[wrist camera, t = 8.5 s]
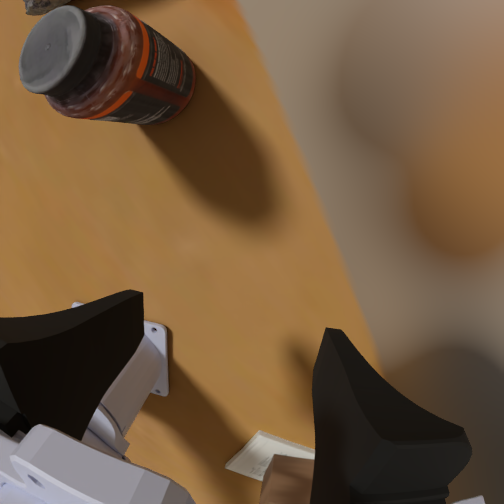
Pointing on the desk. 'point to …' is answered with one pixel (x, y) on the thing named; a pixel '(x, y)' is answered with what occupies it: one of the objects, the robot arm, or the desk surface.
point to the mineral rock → (42, 6)
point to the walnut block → (287, 481)
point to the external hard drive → (264, 454)
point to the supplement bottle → (106, 66)
